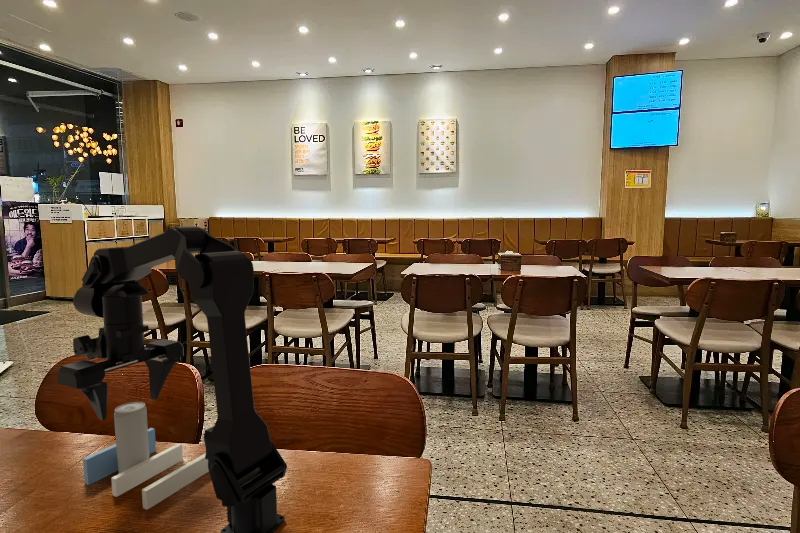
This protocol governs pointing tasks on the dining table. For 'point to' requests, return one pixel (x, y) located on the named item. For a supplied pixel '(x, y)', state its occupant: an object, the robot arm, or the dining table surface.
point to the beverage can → (131, 435)
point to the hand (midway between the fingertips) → (129, 409)
